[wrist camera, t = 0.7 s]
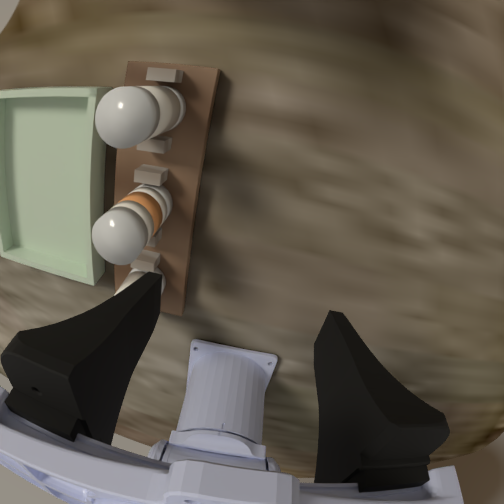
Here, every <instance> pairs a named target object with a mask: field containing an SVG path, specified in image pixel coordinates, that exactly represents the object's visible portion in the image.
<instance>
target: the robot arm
mask: <svg viewBox="0 0 504 504" xmlns="http://www.w3.org/2000/svg"><path fill="white" fill-rule="evenodd" d="M161 288H162V274H158V273H154V272H150V271H149V272H147V273H146V274H144V275H143V276H141V277H140V278H139V279H137V280H136V281H135V282H133V283H132V284H130V285H129V286H128V287H126V288H125V289H123V290H122V291H120V292H119V293H118V294H116V295H115V296H113V297H111V298H110V299H108V300H107V301H105V302H103V303H102V304H100V305H98V306H96V307H94V308H92V309H90V310H88V311H86V312H84V313H82V314H80V315H77V316H75V317H72V318H69V319H67V320H64V321H62V322H58V323H55V324H52V325H48V326H44V327H40V328H35V329H30V330H24V331H19V332H18V333H17V334H16V336H15V337H14V338H13V339H12V341H11V342H10V343H9V344H8V346H7V347H6V348H5V350H4V351H3V353H2V354H1V363H2V366H3V369H4V371H5V373H6V375H7V377H8V379H9V381H10V383H11V384H12V386H13V389H12V390H11V392H10V394H9V393H8V392H7V391H6V390H5V389H4V388H2V387H1V386H0V464H1V465H3V466H5V467H6V468H8V469H9V470H11V471H12V472H14V473H15V474H17V475H19V476H20V477H22V478H23V479H25V480H27V481H28V482H30V483H32V484H34V485H35V486H37V487H39V488H40V489H42V490H44V491H46V492H48V493H49V494H51V495H53V496H55V497H57V498H59V499H61V500H63V501H65V502H67V503H69V504H464V503H463V498H462V494H461V490H460V486H459V482H458V478H457V474H456V470H455V467H454V466H453V465H451V466H445V467H439V468H434V469H432V470H429V471H428V469H427V465H428V464H429V463H430V458H429V455H430V454H431V453H432V452H434V451H435V450H436V449H437V448H438V447H439V446H441V445H442V444H443V443H444V442H445V441H446V439H447V438H448V436H449V434H450V430H449V427H448V424H447V421H446V418H445V415H444V414H443V413H442V412H440V411H438V410H437V409H435V408H433V407H431V406H430V405H428V404H427V403H425V402H424V401H422V400H421V399H419V398H418V397H417V396H415V395H414V394H413V393H411V392H410V391H409V390H408V389H406V388H405V387H404V386H403V385H402V384H401V383H400V382H398V381H397V380H396V379H395V378H394V377H393V376H392V375H391V374H390V373H389V372H388V371H387V370H386V369H385V368H384V367H383V365H382V364H381V363H380V362H379V361H378V360H377V358H376V357H375V356H374V355H373V354H372V352H371V351H370V350H369V348H368V347H367V346H366V345H365V343H364V342H363V340H362V339H361V338H360V336H359V335H358V333H357V332H356V331H355V329H354V328H353V326H352V325H351V323H350V322H349V321H348V319H347V318H346V317H345V315H344V314H343V313H341V312H336V311H331V310H329V313H328V315H327V317H326V319H325V322H324V324H323V326H322V328H321V330H320V333H319V335H318V337H317V339H316V341H315V343H314V370H315V378H316V387H317V395H318V404H319V439H318V454H317V465H316V473H315V480H314V483H299V479H297V478H296V477H294V476H293V475H291V474H288V473H283V472H281V471H280V467H279V465H278V464H277V463H276V462H275V460H274V459H273V458H271V457H265V456H266V446H264V445H262V430H263V413H264V395H265V391H266V388H267V386H268V383H269V381H270V378H271V376H272V373H273V371H274V368H275V366H276V363H277V356H276V355H274V354H268V353H263V352H257V351H252V350H247V349H241V348H236V347H231V346H226V345H221V344H217V343H212V342H207V341H203V340H198V339H194V340H192V343H191V349H190V359H189V368H188V378H187V388H186V395H185V398H184V402H183V406H182V410H181V414H180V418H179V422H178V425H177V429H176V431H172V432H171V435H170V439H169V441H166V440H160V441H159V442H158V443H156V444H154V445H153V446H152V447H151V449H150V451H149V454H148V456H147V457H145V456H141V455H138V454H135V453H132V452H128V451H125V450H122V449H119V448H116V447H113V446H111V442H112V439H113V434H114V431H115V427H116V423H117V419H118V416H119V412H120V409H121V406H122V403H123V399H124V396H125V393H126V390H127V387H128V384H129V381H130V378H131V376H132V374H133V371H134V369H135V367H136V365H137V363H138V361H139V359H140V357H141V355H142V353H143V351H144V349H145V347H146V345H147V343H148V341H149V339H150V337H151V335H152V333H153V331H154V328H155V325H156V322H157V320H158V317H159V314H160V307H161ZM195 347H196V348H195ZM269 362H272V363H269Z"/></svg>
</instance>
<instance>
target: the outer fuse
mask: <svg viewBox="0 0 504 504" xmlns="http://www.w3.org/2000/svg"><path fill="white" fill-rule="evenodd" d="M185 112H186V103H185V99H184V97H183V96H182V94H181V93H180V92H179V91H178V90H177V89H175V88H173V87H170V86H126V87H118V88H115V89H113V90H111V91H109V92H108V93H107V94H105V95H104V96H103V98H102V99H101V100H100V102H99V104H98V106H97V109H96V114H95V124H96V128H97V131H98V133H99V135H100V137H101V138H102V139H103V141H105V142H106V143H107V144H108V145H110V146H112V147H115V148H120V149H124V148H130V147H132V146H135V145H137V144H139V143H141V142H143V141H146V140H148V139H150V138H153V137H155V136H157V135H160V134H162V133H164V132H167V131H169V130H171V129H173V128H175V127H177V126H178V125H179V124H180V123H181V121H182V120H183V118H184V116H185Z"/></svg>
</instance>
